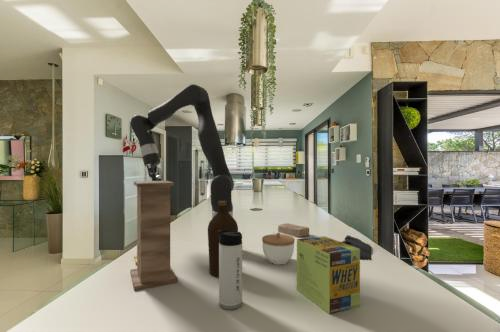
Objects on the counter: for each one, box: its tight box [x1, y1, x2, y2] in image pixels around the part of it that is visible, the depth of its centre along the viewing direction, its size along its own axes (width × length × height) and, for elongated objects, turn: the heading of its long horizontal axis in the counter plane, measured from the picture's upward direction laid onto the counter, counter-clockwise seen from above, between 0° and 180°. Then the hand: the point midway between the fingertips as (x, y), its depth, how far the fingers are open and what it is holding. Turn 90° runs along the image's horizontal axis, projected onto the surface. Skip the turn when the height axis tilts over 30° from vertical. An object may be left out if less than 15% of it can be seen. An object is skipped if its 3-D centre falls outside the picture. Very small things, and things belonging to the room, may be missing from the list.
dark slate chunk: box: [341, 235, 373, 261], centre depth 121 cm, size 15×22×5 cm
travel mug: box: [218, 230, 243, 311], centre depth 74 cm, size 6×7×20 cm
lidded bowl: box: [261, 232, 296, 265], centre depth 108 cm, size 13×13×11 cm
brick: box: [277, 222, 310, 238], centre depth 151 cm, size 17×8×5 cm, turn 39°
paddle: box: [133, 253, 137, 266], centre depth 115 cm, size 21×8×2 cm, turn 27°
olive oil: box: [207, 201, 239, 278], centre depth 97 cm, size 11×11×25 cm
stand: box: [130, 180, 179, 292], centre depth 92 cm, size 15×13×32 cm
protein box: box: [296, 236, 361, 315], centre depth 78 cm, size 10×15×16 cm
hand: (159, 187), depth 128 cm, fingers open, 8 cm apart
